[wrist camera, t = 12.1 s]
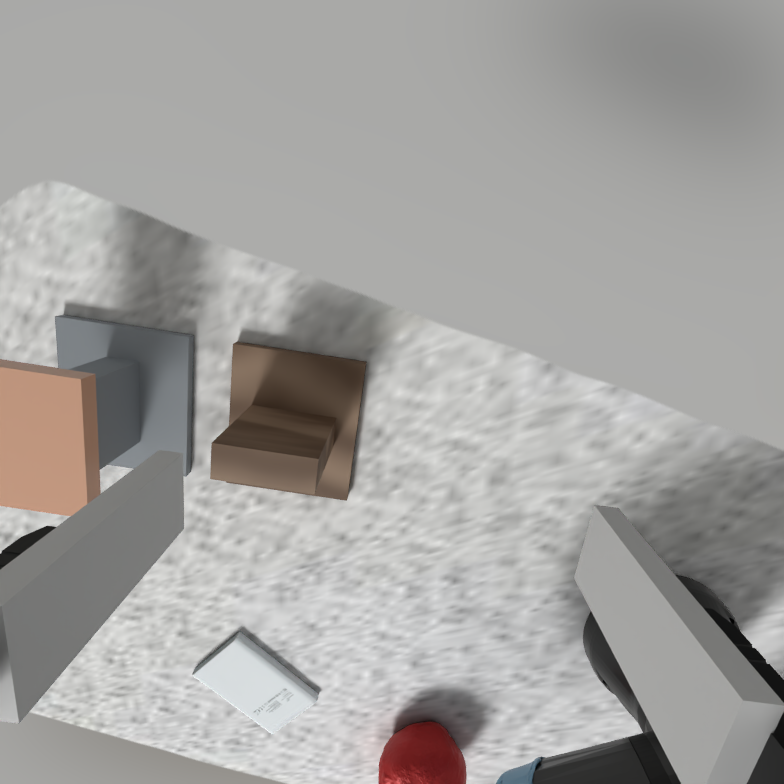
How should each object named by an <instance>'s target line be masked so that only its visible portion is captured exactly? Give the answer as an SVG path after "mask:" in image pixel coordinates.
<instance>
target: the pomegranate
mask: <svg viewBox="0 0 784 784" xmlns="http://www.w3.org/2000/svg"><path fill="white" fill-rule="evenodd" d="M379 784H466V764H465V760H464V757H463V755H462V752H461V751H460V749H459V748H458V747H457V745H456V743H455V741H454V740H453V738H452V737H451V736H450V735H449V734H448V731H447V730H446V729H445V728H444V727H443V726H442V725H440V724H438V723H436V722H431V721H429V722H422V723H414V724H411V725H408V726H407V727H405V728H404V729H402V730H400V731H398V732H396V733H395V734H394V735H393V736H392V737H391V738H390V739H389V741H388V743H387V744H386V745H385V747H384V751H383V753H382V755H381V758H380V762H379Z"/></svg>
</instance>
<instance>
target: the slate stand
mask: <svg viewBox="0 0 784 784" xmlns="http://www.w3.org/2000/svg"><path fill="white" fill-rule="evenodd" d="M55 324H56V339H57V354H58V368H61V369H67V370H74V371H80V372H87V373H93V374H95V376H96V400H97V423H98V447H99V470H100V469H102V468H103V467H105V466H106V465H113V466H120V467H127V468H133V469H135V468H136V467H137V466H139V465H140V464H141V463H143V462H144V461H145V460H147V459H148V458H149V457H151V456H152V455H153V454H155V453H156V452H157V451H159V450H163V451H171V452H179V453H183V476H187V475H188V474H189V473H190V472H191V436H192V393H193V349H194V335H190V334H183V333H177V332H170V331H164V330H157V329H151V328H144V327H138V326H131V325H125V324H118V323H112V322H105V321H99V320H92V319H86V318H80V317H73V316H67V315H60V316H55Z"/></svg>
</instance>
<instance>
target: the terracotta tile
mask: <svg viewBox="0 0 784 784" xmlns="http://www.w3.org/2000/svg"><path fill="white" fill-rule="evenodd" d="M99 495H100V471H99V447H98V423H97V400H96V376H95V374H93V373H87V372H80V371H74V370H67V369H61V368H54V367H48V366H41V365H34V364H28V363H21V362H15V361H8V360H2V359H0V506H6V507H12V508H19V509H26V510H32V511H39V512H46V513H53V514H59V515H66V516H72V515H73V514H75V513H76V512H77V511H79V510H80V509H81V508H83V507H84V506H85V505H87V504H88V503H89V502H91V501H92V500H93V499H95V498H96V497H97V496H99Z"/></svg>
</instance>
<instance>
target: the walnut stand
mask: <svg viewBox="0 0 784 784" xmlns="http://www.w3.org/2000/svg"><path fill="white" fill-rule="evenodd" d="M365 369H366V362H364V361H358V360H351V359H345V358H339V357H332V356H326V355H319V354H313V353H306V352H300V351H293V350H287V349H280V348H274V347H267V346H261V345H254V344H248V343H241V342H236V343H234V344H233V357H232V377H231V398H230V418H229V427H228V428H227V429H226V430H225V431H224V432H223V433H222V434H221V435H220V436H218V437H217V438H216V439H215V440H214V441H213V442H212V450H211V477H210V479H214V480H221V481H226V482H227V483H233V484H240V485H247V486H253V487H260V488H267V489H273V490H280V491H287V492H293V493H300V494H307V495H313V496H320V497H327V498H333V499H340V500H347V498H348V492H349V485H350V478H351V470H352V463H353V456H354V448H355V441H356V434H357V427H358V419H359V412H360V405H361V398H362V390H363V383H364V376H365Z"/></svg>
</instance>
